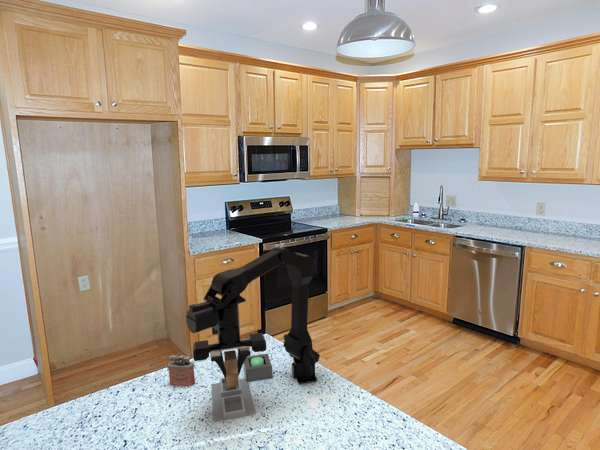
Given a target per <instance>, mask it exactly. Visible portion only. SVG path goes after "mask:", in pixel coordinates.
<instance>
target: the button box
mask: <svg viewBox="0 0 600 450" xmlns="http://www.w3.org/2000/svg"><path fill="white" fill-rule="evenodd" d="M254 357H262V358H263V360H264V365H258V366H251V359H252V358H254ZM242 366H243V372H244V376H245V379H246V381H247V382H248V383H249V382H255V381H262V380H267V379H273V365H272V362H271V359H270V357H269V354H268V353H261V354H256V355H250V356H247V358H246V359H245V361H244V363H243V365H242Z"/></svg>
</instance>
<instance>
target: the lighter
mask: <svg viewBox="0 0 600 450" xmlns="http://www.w3.org/2000/svg"><path fill="white" fill-rule="evenodd" d="M168 359H169V362H168V363H167V368H168V377H169V385H170V386H173V387H189V386H190V387H192V386H194V385H195V384H196V383H195V382H196V380H195V379H196V378H195V369H194V367H195V363H194V362H195V361H190V356H185V355H184V354H180V356H179V355H170V356H169V358H168Z"/></svg>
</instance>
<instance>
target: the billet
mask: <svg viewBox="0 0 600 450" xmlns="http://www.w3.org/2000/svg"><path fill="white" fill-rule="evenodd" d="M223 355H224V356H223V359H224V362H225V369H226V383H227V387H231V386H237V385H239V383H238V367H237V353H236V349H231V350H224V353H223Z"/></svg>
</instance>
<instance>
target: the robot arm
mask: <svg viewBox="0 0 600 450" xmlns="http://www.w3.org/2000/svg"><path fill="white" fill-rule="evenodd" d="M281 264H283V265H286V270H287V275H288V277H289V279H290V282H291V314H290V315H291V318H290V319H291V320H290V321H291V323H290V325H291V327H290V329H289V331H288V333H284V335H283V345H282V347H283V348H284V350H285V352H286V353H287V354H288V355H289V357H291V358H292V359H293V360H292V361H293V362H292V363H291V375H292V377H293V379H296V381H297V383H298V384H304V383H311V382H316V381H318V378H317V376H316V363H317V362H319V360H320V354H319V353H318V352H317V351H315V350H314V347H313V341H312V340H313V339H312V337H311V334H310V333H309V331H308V317H309V315H308V313H309V311H308V310H309V284H310V282H311V281H312V279H313V278H314V274H315V268H316V261H315V259H314V258H313V257H312V256H310V255H307V254H303V253H299V252H293V251H291V250H288V249H287V248H284V247H280V246H275V247H273V248H272V249H271V250H269V251H267V252H266V253H264V254H262V255H260V256H258V257H257V258H255V259H253V260H251V261H249V262H247V263H246V264H244V265H242V266H240V267H237V268H232V269H227V270H224V271H221V272H218V273H216V274H215V275H213V277H212V280H211V284H210V286H209V288H208V290H207V292H206V293H205V295H204V297H203V302H200V303H194V304H189V306H188V309H189V310H187V312H186V316H185V321H186V324H187V327H188V330H189V331H190V333H191V334H196V333H200V332H202V331H206V330H208V329H211V334H212V335H217V341H218V343H212V344H209V340H199V341H194V342H193V344H192V355H193V362H199V361H200V362H202V361H206V360H207V359H209V357H210V362H215V363H216V365H217V366H218V367H219V369H220V371H221V373H222V375H223V378H224V377H225V378H226V369H225V365H224V362H225V359H224V356H223V355H224V354H223V351H224V352H225V351H232V350H236V349H237V354H236V356H237V367H238V376H239V377H240V373H241V370H242V368H243V366H244V365H243V363H244V361H245V359H246V358H247V357H248V356H252V354H251V351H253V352H254V353H261V352H265V351H267V341H266V338H265V335H264V334H263V333H262V332H257V333H249V334H248V338H243V339H241V328H240V311H239V304H242V303H245V302H246V300H247V299H246V298H244V297H243V296H241V293H243V292H244V291H245V290H246V289H247V287H248V286H249V284H250V283H252V282H253V281H255V280H256V279H258V278H260V277H261V276H263V275H265V274H266V273H268V272H270V271H271V270H274V268H277V267H278V266H280V265H281ZM217 295H218V296H220V297H218V296H217ZM250 349H251V350H250Z"/></svg>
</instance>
